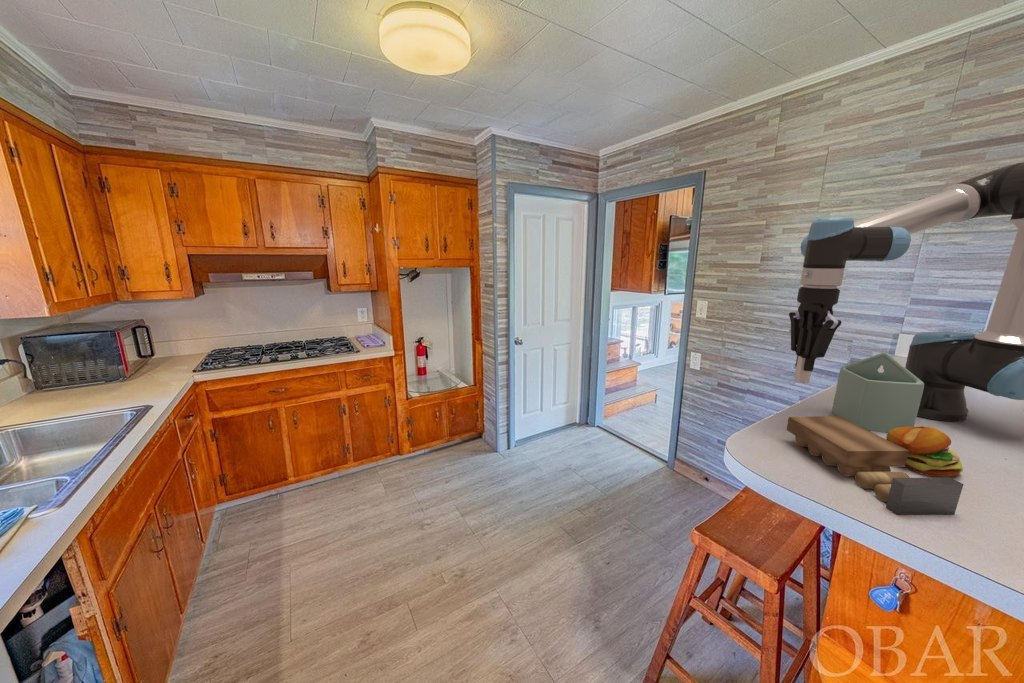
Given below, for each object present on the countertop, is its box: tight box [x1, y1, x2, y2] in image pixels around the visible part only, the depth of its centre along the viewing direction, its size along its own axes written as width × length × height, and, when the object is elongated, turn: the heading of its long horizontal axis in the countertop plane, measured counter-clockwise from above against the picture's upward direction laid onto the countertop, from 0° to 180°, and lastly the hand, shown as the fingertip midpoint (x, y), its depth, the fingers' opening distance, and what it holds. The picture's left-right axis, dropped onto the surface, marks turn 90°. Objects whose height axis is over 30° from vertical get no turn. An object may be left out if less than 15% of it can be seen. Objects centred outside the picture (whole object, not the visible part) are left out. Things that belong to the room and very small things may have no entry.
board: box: [786, 415, 909, 468], centre depth 80 cm, size 12×16×4 cm
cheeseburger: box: [885, 426, 964, 478], centre depth 78 cm, size 10×11×10 cm
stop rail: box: [885, 476, 964, 516], centre depth 64 cm, size 10×2×6 cm, turn 90°
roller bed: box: [794, 435, 911, 503], centre depth 77 cm, size 8×23×3 cm, turn 0°
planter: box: [831, 351, 924, 434], centre depth 95 cm, size 16×8×20 cm, turn 29°
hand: (801, 381), depth 91 cm, fingers closed
